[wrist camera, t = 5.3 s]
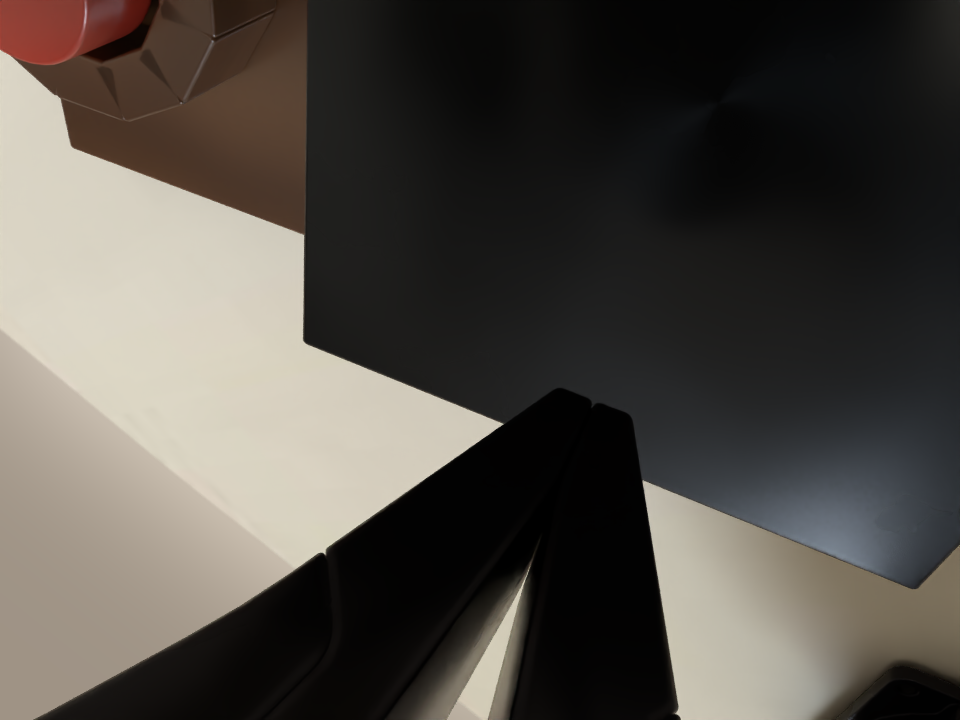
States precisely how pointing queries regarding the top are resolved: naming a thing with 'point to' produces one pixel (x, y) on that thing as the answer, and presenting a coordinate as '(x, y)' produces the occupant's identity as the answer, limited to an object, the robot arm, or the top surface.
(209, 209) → the top surface
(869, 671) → the top surface
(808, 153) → the cooker lid
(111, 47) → the control block
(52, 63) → the button
